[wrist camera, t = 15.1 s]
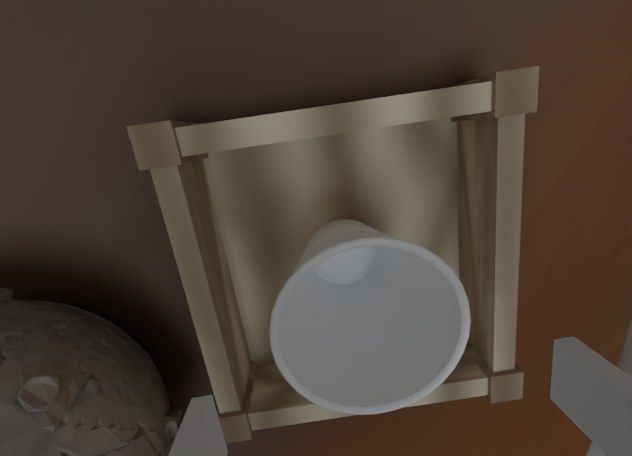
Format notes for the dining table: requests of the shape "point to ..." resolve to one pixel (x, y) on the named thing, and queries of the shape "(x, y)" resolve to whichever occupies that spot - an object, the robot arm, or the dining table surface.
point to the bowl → (77, 385)
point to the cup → (368, 321)
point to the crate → (344, 203)
